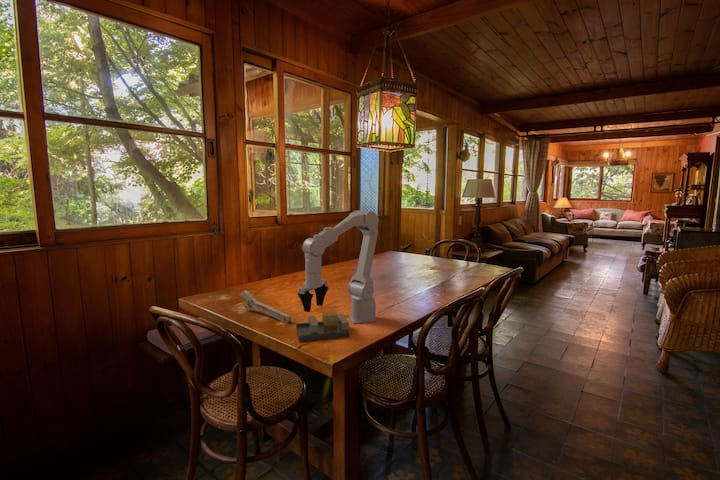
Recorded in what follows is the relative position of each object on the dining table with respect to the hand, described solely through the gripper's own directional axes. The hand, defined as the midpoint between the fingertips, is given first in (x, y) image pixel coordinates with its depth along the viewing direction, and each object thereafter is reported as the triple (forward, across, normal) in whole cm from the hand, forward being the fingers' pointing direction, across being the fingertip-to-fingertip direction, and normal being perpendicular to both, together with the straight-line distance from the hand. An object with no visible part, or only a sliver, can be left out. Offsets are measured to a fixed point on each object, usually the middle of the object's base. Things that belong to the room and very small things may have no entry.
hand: (313, 308), depth 134 cm
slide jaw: (+8, 0, 0) cm, 8 cm away
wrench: (+10, -5, -29) cm, 31 cm away
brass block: (+8, -4, +4) cm, 10 cm away
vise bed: (+10, -2, +2) cm, 10 cm away
